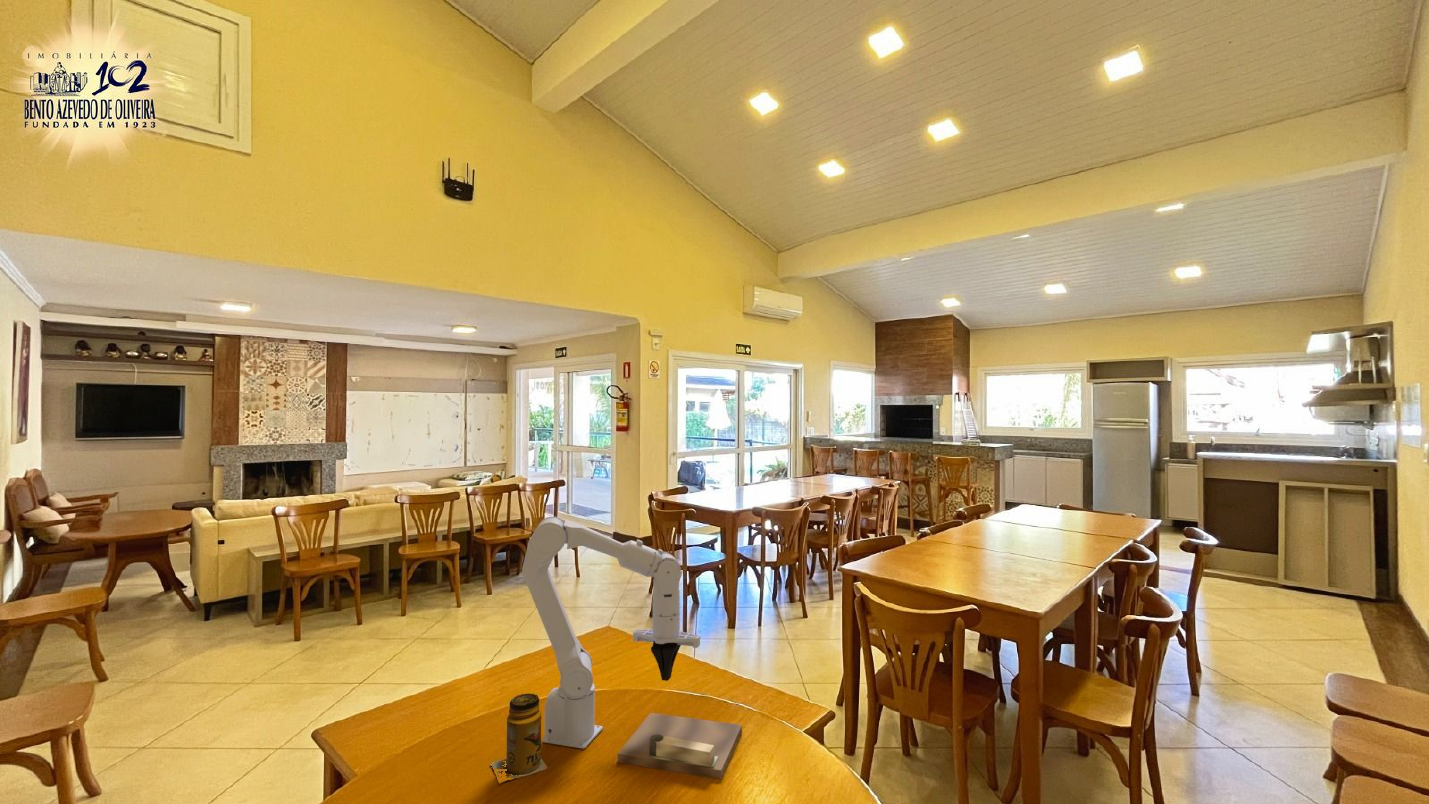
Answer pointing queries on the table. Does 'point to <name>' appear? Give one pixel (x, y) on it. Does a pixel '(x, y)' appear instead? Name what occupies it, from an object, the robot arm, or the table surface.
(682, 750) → the leg
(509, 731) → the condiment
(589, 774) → the table surface
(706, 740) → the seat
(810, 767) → the table surface
